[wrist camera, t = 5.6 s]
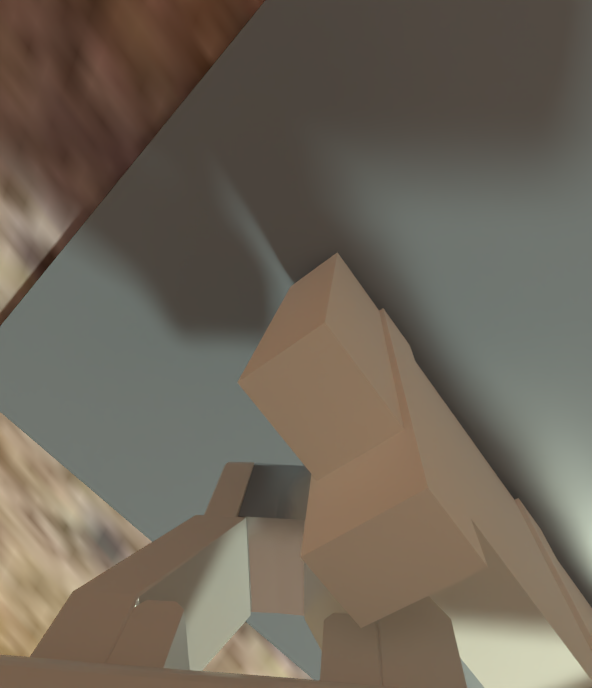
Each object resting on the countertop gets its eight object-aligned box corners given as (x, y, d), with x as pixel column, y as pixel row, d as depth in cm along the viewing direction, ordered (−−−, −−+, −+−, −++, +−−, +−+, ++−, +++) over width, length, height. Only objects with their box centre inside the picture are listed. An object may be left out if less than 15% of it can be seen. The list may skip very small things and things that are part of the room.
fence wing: (676, 720, 13) (963, 1195, 7) (624, 738, 14) (853, 1205, 7) (341, 249, 10) (327, 354, 4) (286, 288, 11) (199, 440, 5)
